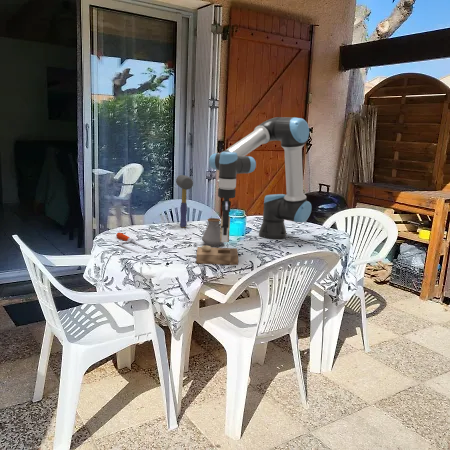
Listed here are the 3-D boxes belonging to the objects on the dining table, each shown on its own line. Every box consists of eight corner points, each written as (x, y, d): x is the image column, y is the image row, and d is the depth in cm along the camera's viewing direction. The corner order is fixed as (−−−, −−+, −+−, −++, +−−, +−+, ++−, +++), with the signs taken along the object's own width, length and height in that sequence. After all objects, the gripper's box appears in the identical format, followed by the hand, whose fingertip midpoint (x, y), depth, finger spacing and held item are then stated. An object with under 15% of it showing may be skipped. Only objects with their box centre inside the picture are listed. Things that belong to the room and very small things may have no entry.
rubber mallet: (192, 229, 260) (194, 176, 254) (179, 230, 258) (181, 176, 251) (186, 224, 272) (187, 174, 265) (174, 225, 269) (175, 174, 262)
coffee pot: (198, 242, 235) (199, 213, 231) (219, 240, 239) (220, 212, 236) (213, 253, 215) (214, 222, 212) (235, 252, 220) (237, 221, 217)
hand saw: (159, 248, 215) (141, 252, 208) (159, 254, 216) (141, 258, 209) (121, 231, 237) (103, 234, 230) (121, 237, 238) (103, 240, 231)
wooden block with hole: (236, 256, 212) (237, 244, 211) (237, 264, 200) (238, 251, 199) (197, 255, 211) (197, 242, 210) (196, 263, 200) (196, 249, 198)
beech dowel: (228, 240, 206) (230, 216, 204) (229, 242, 202) (230, 218, 200) (219, 239, 206) (220, 215, 203) (219, 242, 202) (221, 217, 199)
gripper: (218, 185, 207) (215, 235, 212) (218, 190, 190) (215, 245, 195) (234, 185, 207) (232, 236, 212) (236, 191, 191) (233, 246, 196)
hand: (224, 240), depth 204 cm, fingers closed on beech dowel, 4 cm apart
